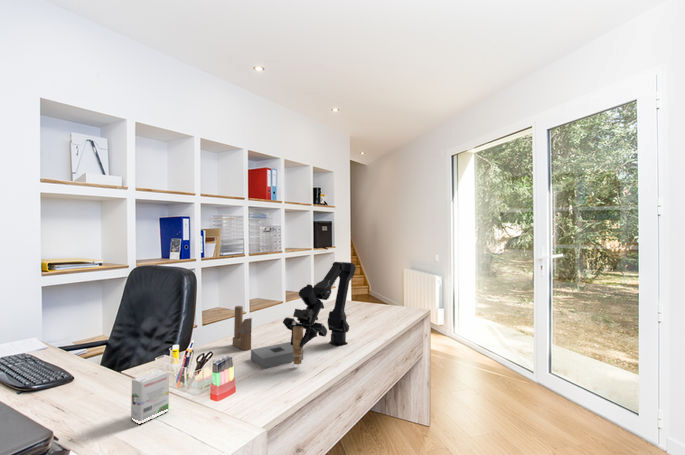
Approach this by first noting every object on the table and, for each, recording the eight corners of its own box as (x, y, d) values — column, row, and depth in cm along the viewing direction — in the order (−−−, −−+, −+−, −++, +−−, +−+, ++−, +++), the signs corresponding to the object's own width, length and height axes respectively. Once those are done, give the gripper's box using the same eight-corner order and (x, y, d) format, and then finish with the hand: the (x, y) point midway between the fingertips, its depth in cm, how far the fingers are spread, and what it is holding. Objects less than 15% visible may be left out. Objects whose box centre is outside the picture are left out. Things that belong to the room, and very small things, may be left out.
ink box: (159, 407, 104) (160, 368, 104) (169, 412, 102) (170, 372, 102) (130, 420, 97) (130, 378, 97) (140, 426, 94) (140, 383, 95)
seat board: (289, 350, 154) (289, 341, 154) (303, 359, 144) (303, 349, 144) (250, 359, 143) (250, 349, 143) (262, 369, 134) (262, 358, 134)
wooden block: (244, 351, 152) (244, 310, 152) (232, 345, 160) (232, 306, 160) (251, 349, 155) (252, 309, 155) (239, 343, 162) (240, 305, 162)
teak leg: (299, 360, 139) (300, 325, 139) (304, 363, 136) (305, 327, 135) (290, 362, 136) (291, 326, 136) (295, 365, 133) (296, 329, 133)
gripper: (285, 297, 144) (267, 331, 134) (324, 303, 135) (307, 339, 125) (296, 312, 151) (280, 345, 141) (333, 318, 142) (318, 354, 132)
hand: (295, 345), depth 135 cm, fingers closed on teak leg, 4 cm apart
